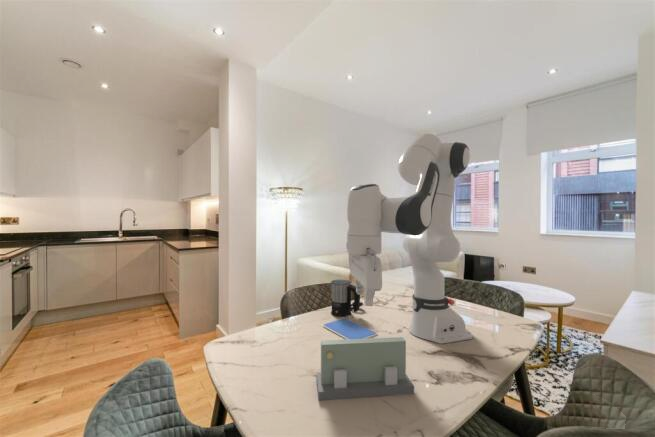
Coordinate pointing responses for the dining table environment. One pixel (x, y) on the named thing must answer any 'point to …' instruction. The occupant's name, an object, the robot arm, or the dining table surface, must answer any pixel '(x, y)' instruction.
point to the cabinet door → (363, 358)
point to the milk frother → (344, 298)
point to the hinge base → (363, 386)
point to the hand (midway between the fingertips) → (363, 299)
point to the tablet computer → (349, 329)
